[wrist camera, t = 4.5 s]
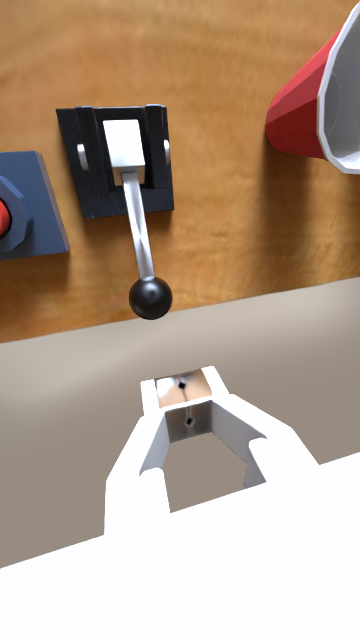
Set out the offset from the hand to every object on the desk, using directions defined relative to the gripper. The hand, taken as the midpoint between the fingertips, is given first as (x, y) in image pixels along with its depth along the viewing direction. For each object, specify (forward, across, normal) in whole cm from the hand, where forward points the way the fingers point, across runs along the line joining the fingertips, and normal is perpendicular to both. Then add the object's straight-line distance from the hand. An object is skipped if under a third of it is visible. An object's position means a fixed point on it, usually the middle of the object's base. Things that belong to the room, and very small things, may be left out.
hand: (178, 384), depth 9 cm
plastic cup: (+23, -19, -12) cm, 32 cm away
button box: (+23, +13, -6) cm, 27 cm away
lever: (+12, 0, -4) cm, 13 cm away
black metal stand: (+23, 0, -9) cm, 25 cm away
